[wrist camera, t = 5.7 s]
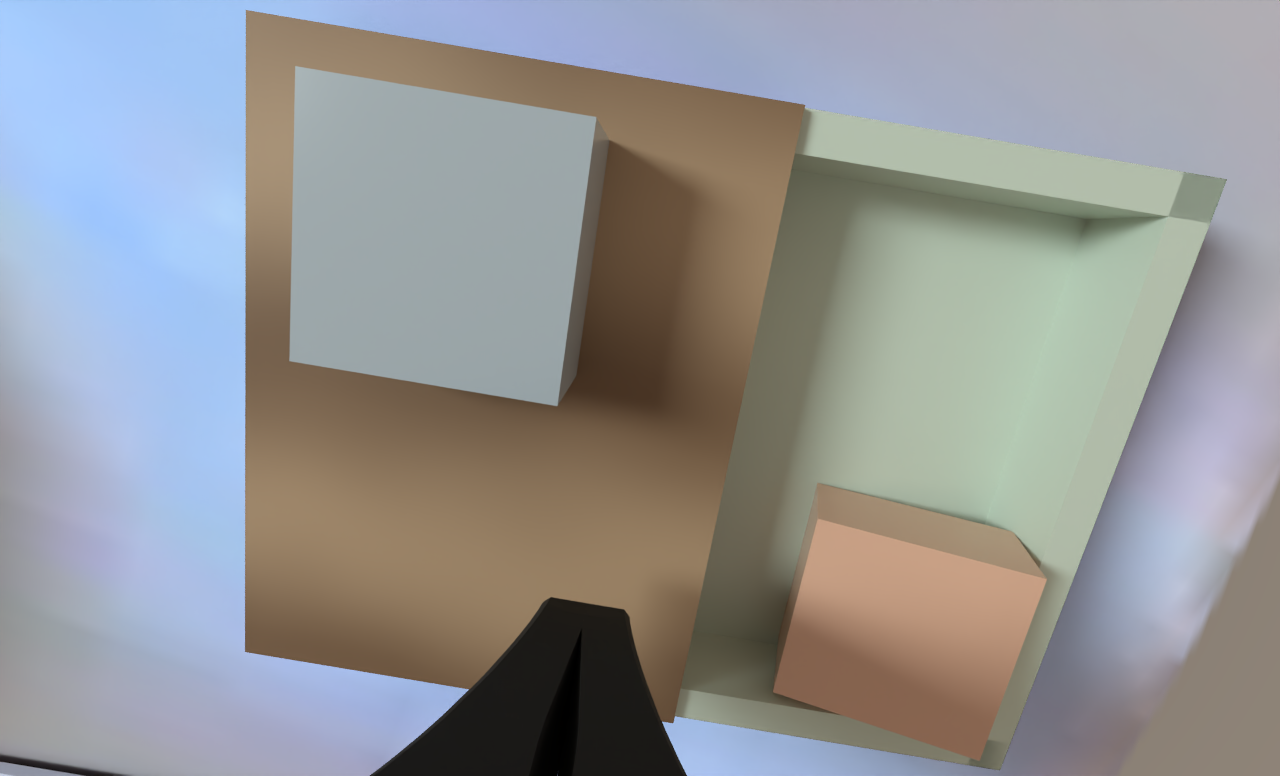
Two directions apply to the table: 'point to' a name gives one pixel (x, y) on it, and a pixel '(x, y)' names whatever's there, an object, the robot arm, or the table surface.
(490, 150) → the slate tile
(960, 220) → the tray
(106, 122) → the table surface
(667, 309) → the walnut board
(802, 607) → the terracotta tile
